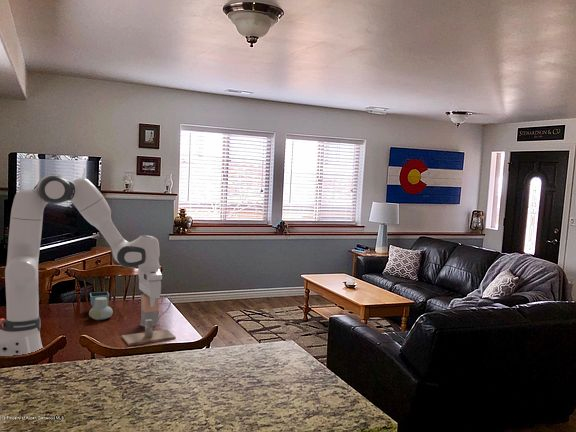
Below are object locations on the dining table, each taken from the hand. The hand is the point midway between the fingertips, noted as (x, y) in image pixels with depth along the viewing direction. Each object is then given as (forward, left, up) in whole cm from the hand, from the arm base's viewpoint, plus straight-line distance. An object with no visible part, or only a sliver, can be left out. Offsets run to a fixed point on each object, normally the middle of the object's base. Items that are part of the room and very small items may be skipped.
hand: (149, 304), depth 219 cm
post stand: (0, 0, -15) cm, 15 cm away
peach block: (0, 0, -3) cm, 3 cm away
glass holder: (+9, +20, -15) cm, 27 cm away
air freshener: (-12, +40, -15) cm, 44 cm away
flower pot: (-10, +54, -15) cm, 57 cm away
